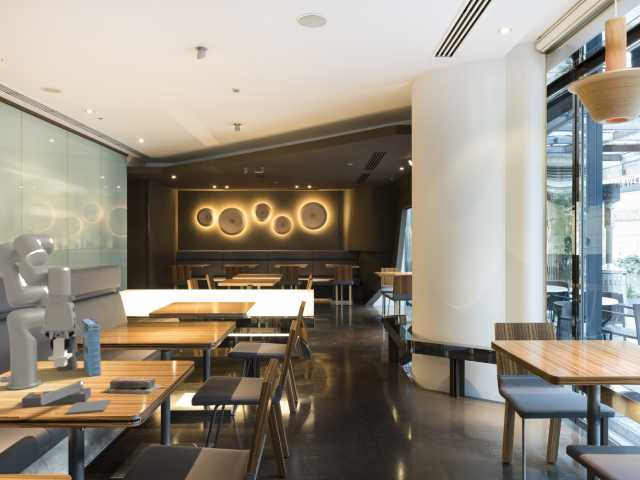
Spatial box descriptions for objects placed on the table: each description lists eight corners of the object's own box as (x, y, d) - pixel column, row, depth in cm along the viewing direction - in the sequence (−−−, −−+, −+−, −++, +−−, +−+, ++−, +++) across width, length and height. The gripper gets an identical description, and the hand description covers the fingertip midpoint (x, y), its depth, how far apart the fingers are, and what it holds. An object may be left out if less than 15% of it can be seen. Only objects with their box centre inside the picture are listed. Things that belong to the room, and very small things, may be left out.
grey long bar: (44, 404, 166) (44, 395, 166) (40, 404, 167) (39, 395, 167) (84, 389, 184) (84, 381, 184) (79, 389, 184) (79, 380, 184)
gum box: (101, 375, 220) (99, 323, 221) (88, 377, 218) (87, 324, 218) (94, 366, 237) (93, 318, 237) (82, 368, 234) (81, 319, 234)
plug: (48, 368, 181) (47, 341, 181) (54, 364, 187) (53, 337, 187) (67, 367, 182) (66, 340, 182) (72, 363, 188) (72, 337, 188)
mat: (65, 414, 169) (65, 412, 169) (75, 404, 180) (75, 402, 180) (103, 411, 172) (103, 409, 172) (110, 401, 182) (110, 399, 182)
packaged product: (105, 381, 193) (119, 374, 203) (106, 394, 193) (120, 386, 203) (149, 382, 191) (161, 375, 201) (150, 395, 191) (161, 387, 201)
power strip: (21, 407, 178) (21, 397, 178) (30, 400, 186) (30, 390, 186) (85, 402, 182) (84, 392, 182) (90, 395, 190) (90, 386, 190)
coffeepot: (84, 367, 235) (83, 329, 235) (64, 372, 227) (63, 332, 227) (67, 363, 244) (66, 326, 244) (47, 368, 236) (46, 329, 236)
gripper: (86, 297, 190) (87, 346, 190) (38, 299, 187) (39, 348, 187) (80, 300, 182) (81, 350, 182) (31, 302, 179) (32, 353, 179)
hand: (60, 349), depth 185 cm, fingers closed on plug, 3 cm apart
